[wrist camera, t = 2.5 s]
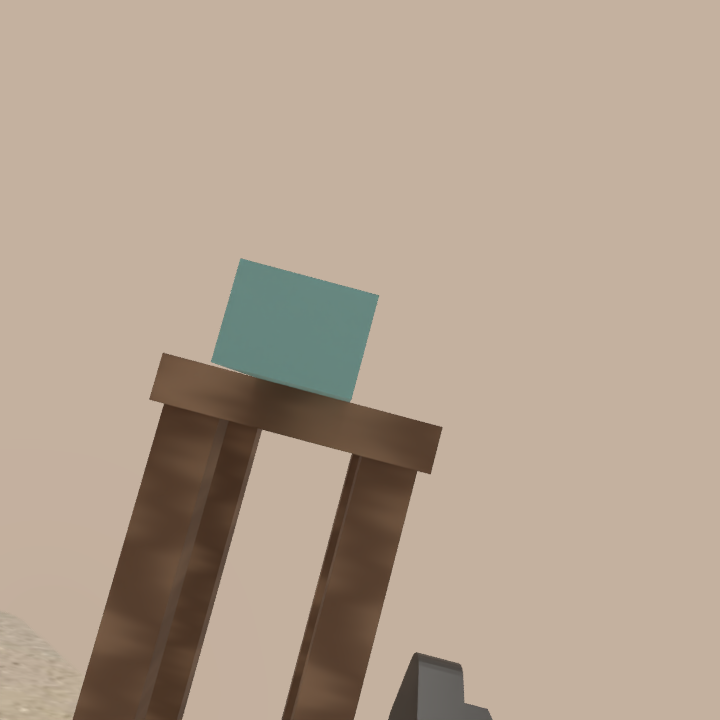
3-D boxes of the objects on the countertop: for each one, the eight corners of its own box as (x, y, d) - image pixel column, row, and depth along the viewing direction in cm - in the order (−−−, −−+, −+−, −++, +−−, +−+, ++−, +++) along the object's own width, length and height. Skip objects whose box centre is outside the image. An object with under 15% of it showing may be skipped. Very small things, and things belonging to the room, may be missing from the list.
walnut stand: (-77, 1172, 24) (162, 352, 27) (97, 857, 41) (233, 374, 44) (232, 1253, 24) (442, 427, 27) (279, 905, 41) (404, 419, 44)
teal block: (211, 362, 18) (240, 258, 18) (288, 388, 42) (300, 344, 42) (351, 399, 18) (378, 295, 18) (347, 404, 42) (359, 360, 42)
